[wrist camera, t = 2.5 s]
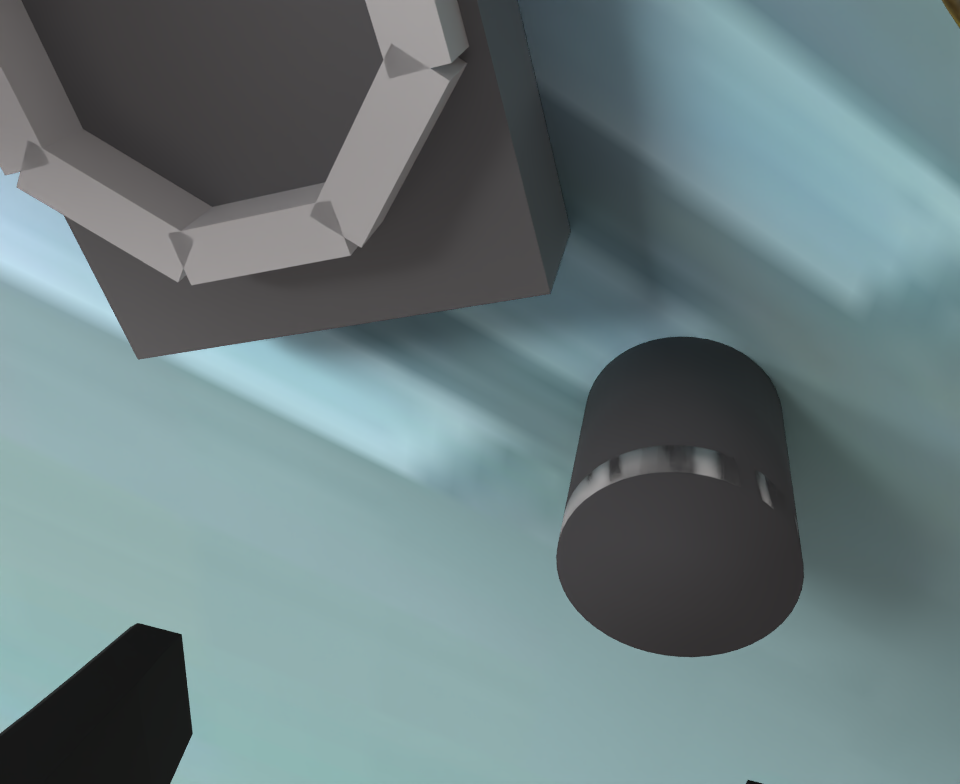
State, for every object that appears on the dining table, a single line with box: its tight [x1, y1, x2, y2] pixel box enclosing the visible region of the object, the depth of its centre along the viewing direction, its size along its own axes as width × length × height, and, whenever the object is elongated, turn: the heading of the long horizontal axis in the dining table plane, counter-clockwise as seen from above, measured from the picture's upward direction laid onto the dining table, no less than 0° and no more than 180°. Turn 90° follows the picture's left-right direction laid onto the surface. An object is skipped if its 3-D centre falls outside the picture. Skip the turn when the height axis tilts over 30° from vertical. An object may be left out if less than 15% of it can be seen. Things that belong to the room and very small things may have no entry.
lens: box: [556, 337, 804, 657], centre depth 18 cm, size 4×4×5 cm
